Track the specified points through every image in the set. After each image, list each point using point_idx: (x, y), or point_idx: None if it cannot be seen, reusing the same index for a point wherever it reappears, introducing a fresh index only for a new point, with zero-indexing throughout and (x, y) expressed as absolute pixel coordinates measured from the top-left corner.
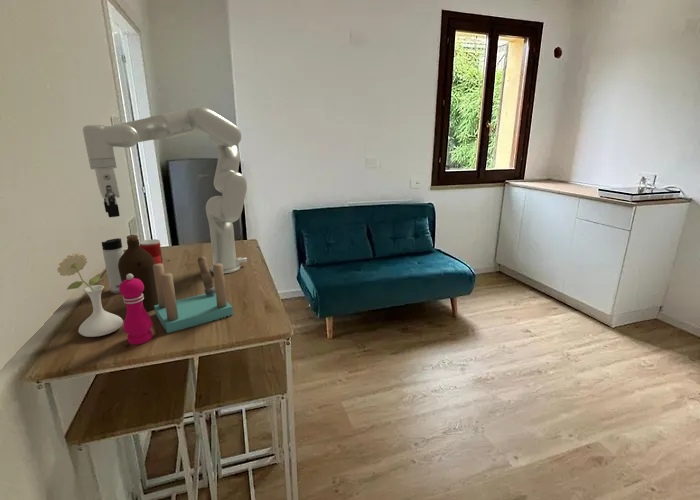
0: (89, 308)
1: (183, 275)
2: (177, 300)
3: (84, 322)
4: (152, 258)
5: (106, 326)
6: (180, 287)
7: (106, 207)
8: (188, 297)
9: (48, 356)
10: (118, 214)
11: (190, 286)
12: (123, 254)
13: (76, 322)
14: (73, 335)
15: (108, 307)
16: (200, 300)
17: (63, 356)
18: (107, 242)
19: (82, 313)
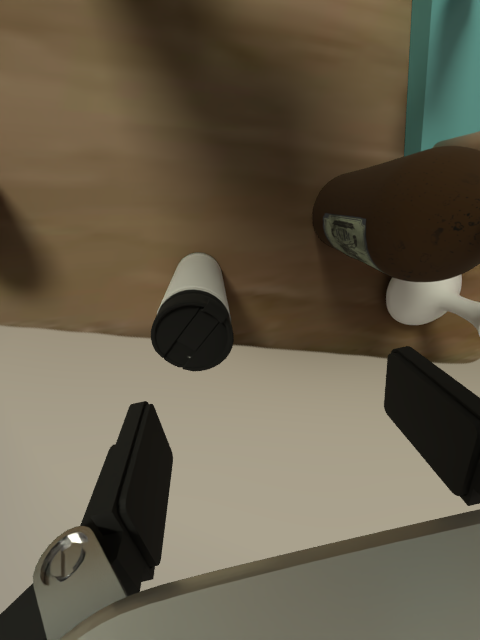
0: (287, 324)
1: (118, 65)
2: (427, 112)
3: (431, 319)
4: (476, 149)
5: (461, 279)
6: (246, 94)
7: (164, 492)
8: (426, 71)
9: (449, 347)
10: (417, 358)
11: (252, 53)
12: (467, 267)
13: (346, 335)
14: (399, 329)
15: (302, 289)
16: (476, 31)
17: (465, 328)
18: (229, 349)
19: (307, 332)
